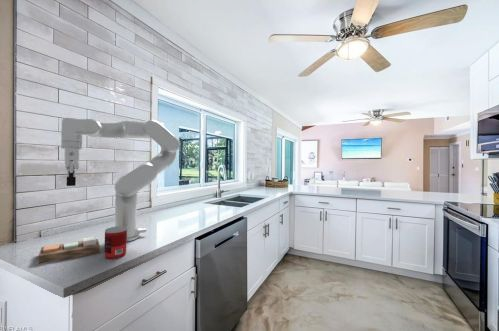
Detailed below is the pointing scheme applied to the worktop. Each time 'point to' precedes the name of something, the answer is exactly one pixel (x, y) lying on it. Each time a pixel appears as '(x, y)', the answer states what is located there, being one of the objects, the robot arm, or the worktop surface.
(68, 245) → the sage key
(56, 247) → the terracotta key
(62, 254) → the key panel
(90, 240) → the ivory key
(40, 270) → the worktop surface
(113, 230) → the canned food
